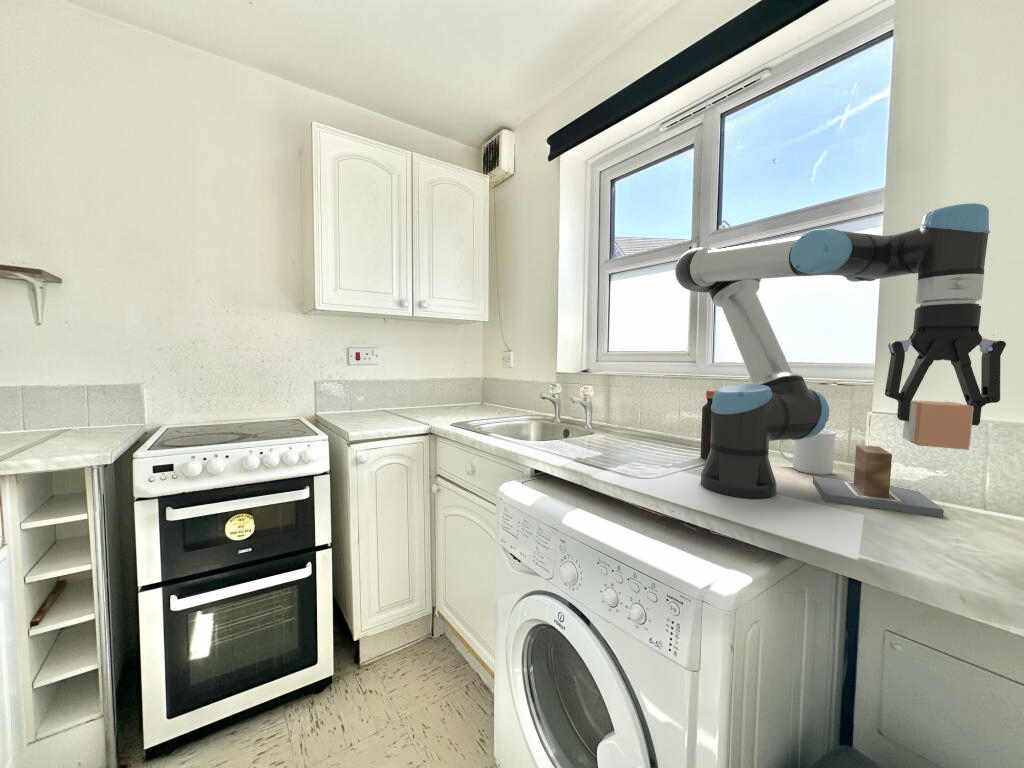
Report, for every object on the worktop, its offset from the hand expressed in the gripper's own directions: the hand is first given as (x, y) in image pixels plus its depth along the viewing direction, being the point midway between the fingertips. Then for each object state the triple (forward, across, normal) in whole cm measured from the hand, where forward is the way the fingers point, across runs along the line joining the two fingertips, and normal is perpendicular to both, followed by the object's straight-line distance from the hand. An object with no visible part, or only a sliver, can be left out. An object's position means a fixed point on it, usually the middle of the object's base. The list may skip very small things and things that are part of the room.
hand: (934, 441), depth 69 cm
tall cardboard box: (+14, -4, +17) cm, 23 cm away
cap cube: (0, 0, 0) cm, 0 cm away
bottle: (+16, -35, +38) cm, 54 cm away
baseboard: (+16, -4, +17) cm, 23 cm away
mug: (+16, -13, +37) cm, 42 cm away
